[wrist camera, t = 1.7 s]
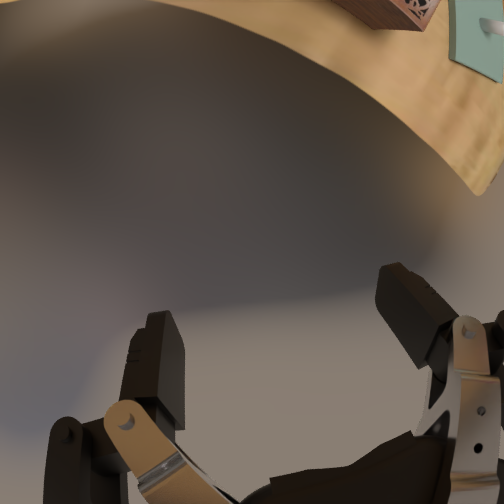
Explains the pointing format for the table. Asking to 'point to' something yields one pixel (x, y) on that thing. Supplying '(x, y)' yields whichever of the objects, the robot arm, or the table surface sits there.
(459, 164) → the table surface
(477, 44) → the post board
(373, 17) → the tissue box cover
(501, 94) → the table surface
